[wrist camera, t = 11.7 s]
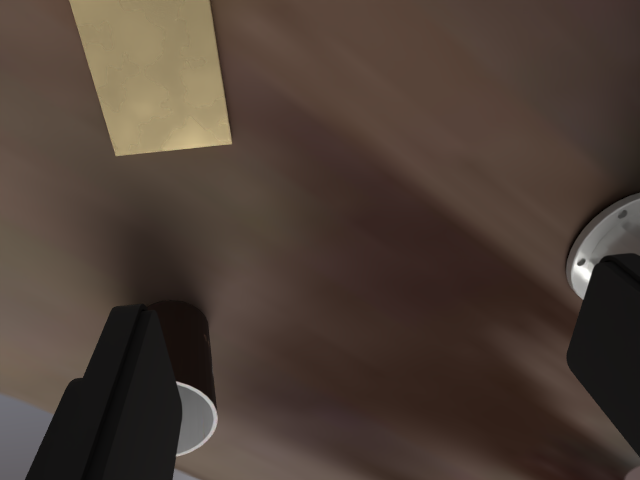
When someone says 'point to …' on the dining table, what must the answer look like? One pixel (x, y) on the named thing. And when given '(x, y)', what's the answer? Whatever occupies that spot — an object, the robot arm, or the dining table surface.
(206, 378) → the coffee mug
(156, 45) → the open box with flaps
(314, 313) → the dining table surface
